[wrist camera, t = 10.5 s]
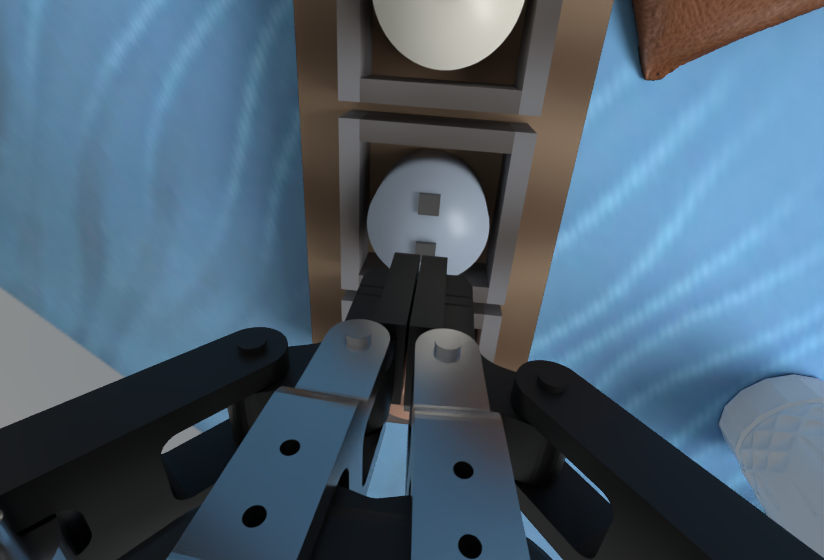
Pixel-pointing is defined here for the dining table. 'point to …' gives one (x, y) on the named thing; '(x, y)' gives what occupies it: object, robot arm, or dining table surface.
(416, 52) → the button one
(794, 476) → the white cup
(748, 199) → the dining table surface
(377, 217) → the button two
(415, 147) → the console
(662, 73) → the sunglasses case
